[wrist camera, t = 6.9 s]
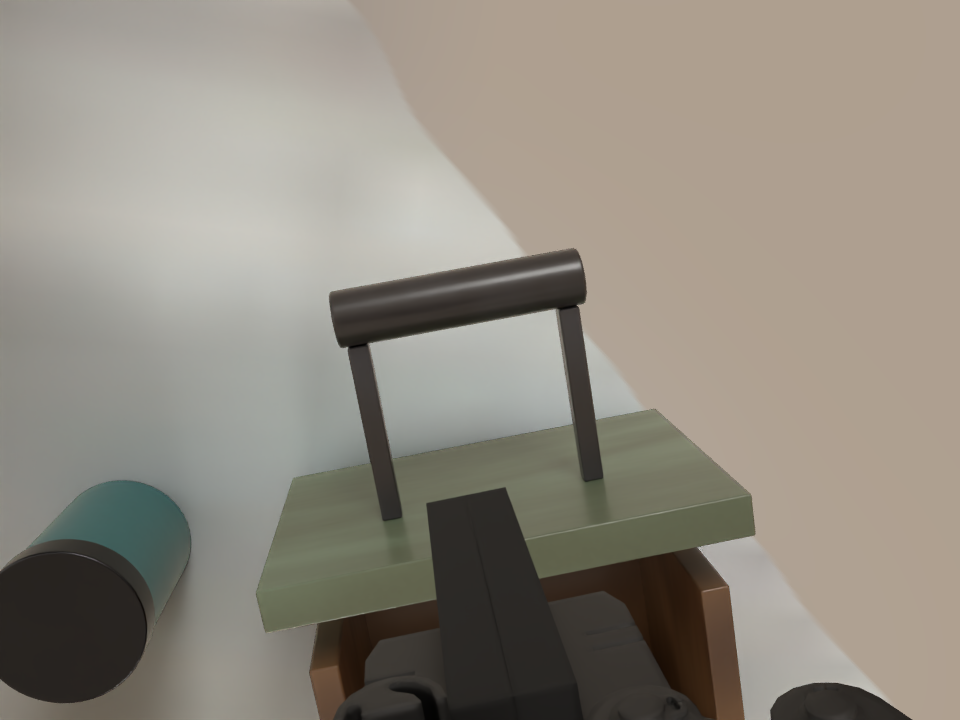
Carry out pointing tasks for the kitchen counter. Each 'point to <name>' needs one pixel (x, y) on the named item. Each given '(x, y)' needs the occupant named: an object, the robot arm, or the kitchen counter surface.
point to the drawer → (532, 491)
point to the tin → (90, 592)
